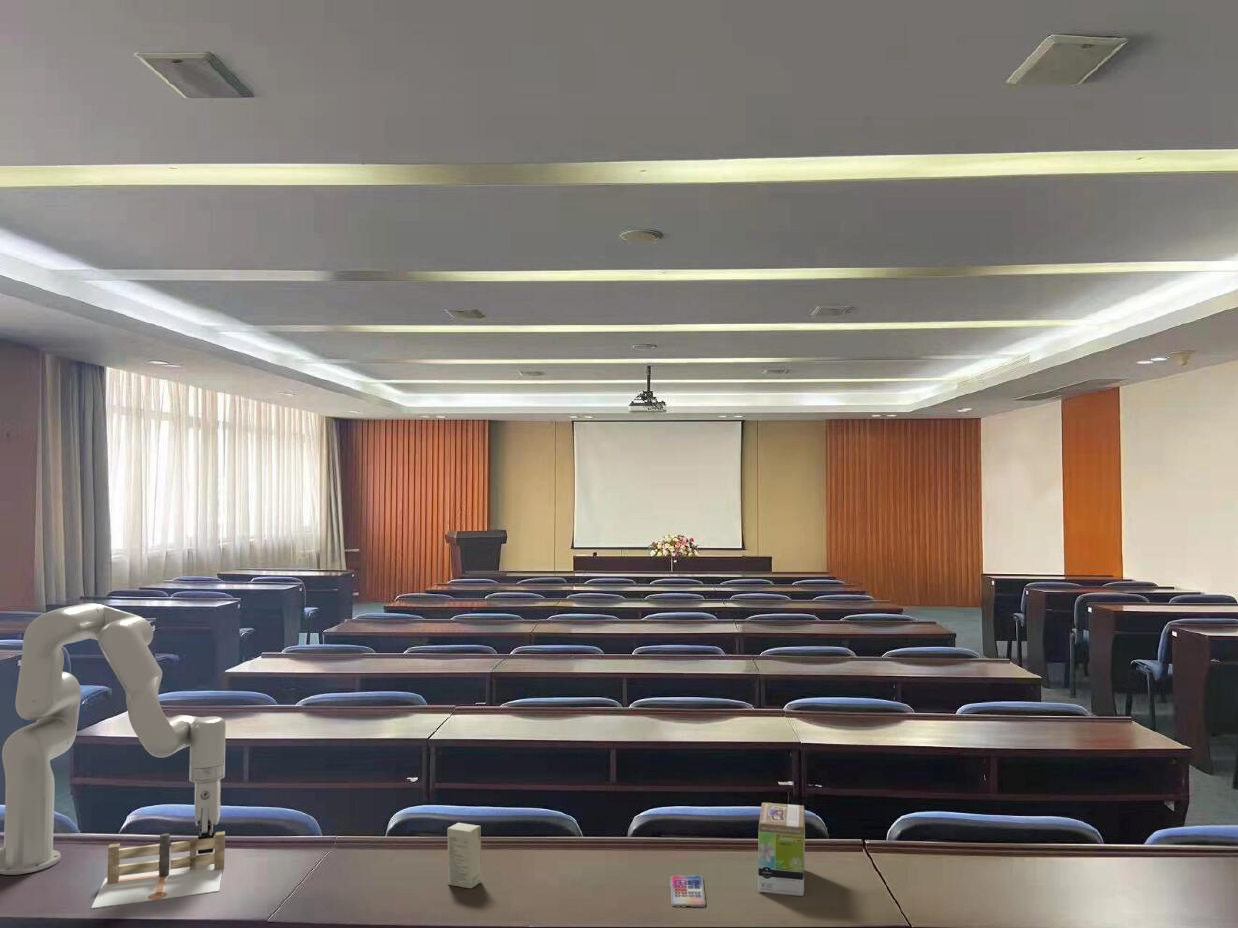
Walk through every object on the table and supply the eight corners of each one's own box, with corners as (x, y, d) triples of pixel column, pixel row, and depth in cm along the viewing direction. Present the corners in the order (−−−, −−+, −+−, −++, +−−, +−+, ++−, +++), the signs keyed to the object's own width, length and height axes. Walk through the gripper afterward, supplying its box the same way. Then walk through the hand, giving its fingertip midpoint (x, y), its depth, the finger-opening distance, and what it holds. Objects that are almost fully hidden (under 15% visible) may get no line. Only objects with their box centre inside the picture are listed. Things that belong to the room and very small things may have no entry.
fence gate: (170, 874, 202) (170, 840, 202) (171, 871, 204) (171, 837, 204) (223, 867, 205) (224, 834, 206) (224, 864, 207) (225, 831, 208)
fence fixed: (107, 885, 197) (108, 843, 198) (108, 881, 199) (109, 839, 200) (168, 877, 202) (169, 836, 202) (169, 873, 203) (170, 833, 204)
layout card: (91, 909, 186) (91, 907, 186) (105, 878, 201) (105, 877, 201) (219, 891, 194) (219, 890, 194) (223, 863, 209) (223, 862, 209)
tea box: (805, 897, 192) (804, 826, 192) (757, 893, 194) (756, 822, 194) (805, 869, 206) (804, 803, 207) (760, 865, 208) (760, 800, 209)
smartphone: (670, 904, 187) (669, 874, 202) (670, 909, 187) (670, 879, 202) (706, 904, 187) (703, 875, 202) (706, 909, 187) (703, 879, 202)
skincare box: (482, 882, 199) (482, 825, 200) (470, 889, 195) (471, 831, 196) (457, 877, 202) (458, 821, 202) (446, 884, 198) (446, 827, 198)
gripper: (222, 779, 206) (221, 861, 205) (226, 761, 220) (225, 838, 219) (186, 782, 203) (184, 866, 202) (192, 764, 217) (190, 842, 216)
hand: (205, 851), depth 211 cm, fingers closed
